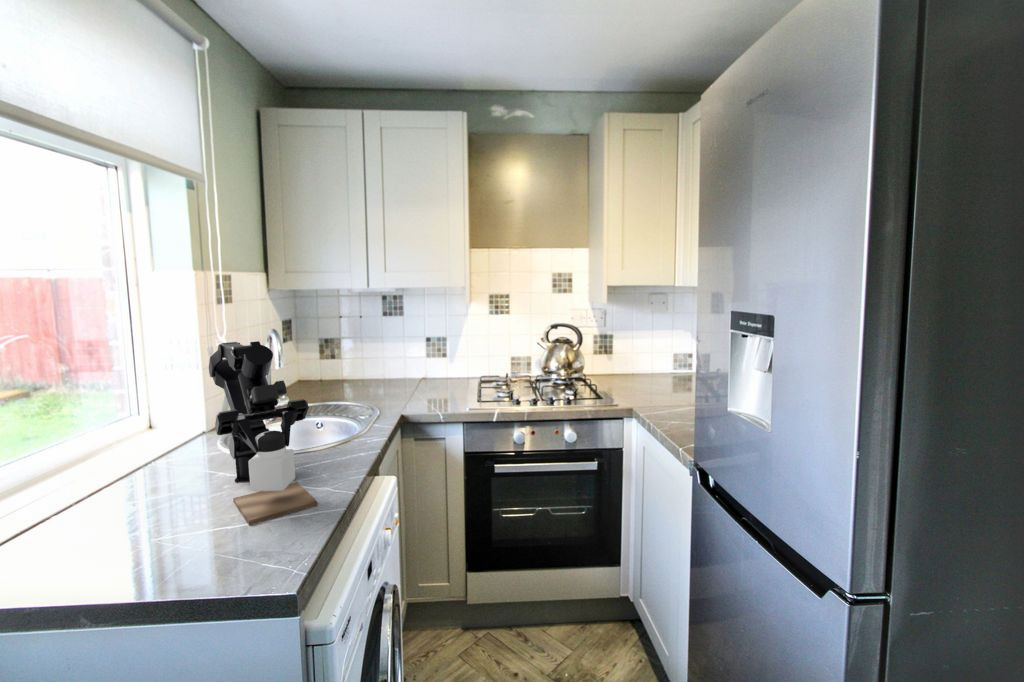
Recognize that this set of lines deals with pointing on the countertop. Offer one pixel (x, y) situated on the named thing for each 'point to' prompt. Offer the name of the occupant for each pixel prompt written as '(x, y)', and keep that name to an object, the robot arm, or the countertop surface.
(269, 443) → the medicine bottle
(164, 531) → the countertop surface
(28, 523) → the countertop surface
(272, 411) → the robot arm
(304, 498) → the walnut base
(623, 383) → the countertop surface
